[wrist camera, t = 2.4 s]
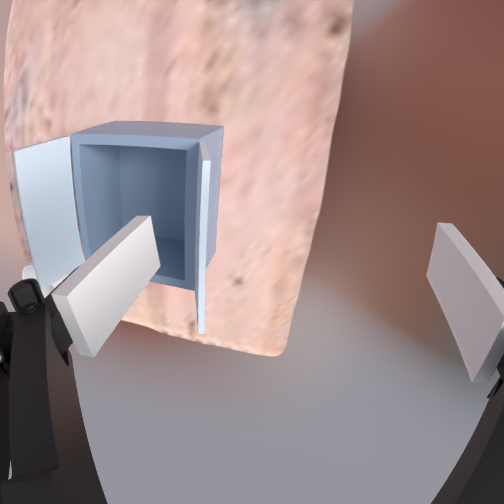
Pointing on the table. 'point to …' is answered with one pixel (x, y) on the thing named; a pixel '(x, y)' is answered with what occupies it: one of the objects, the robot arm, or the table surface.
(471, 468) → the robot arm
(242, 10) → the table surface
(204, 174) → the flap right
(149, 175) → the box
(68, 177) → the flap left
